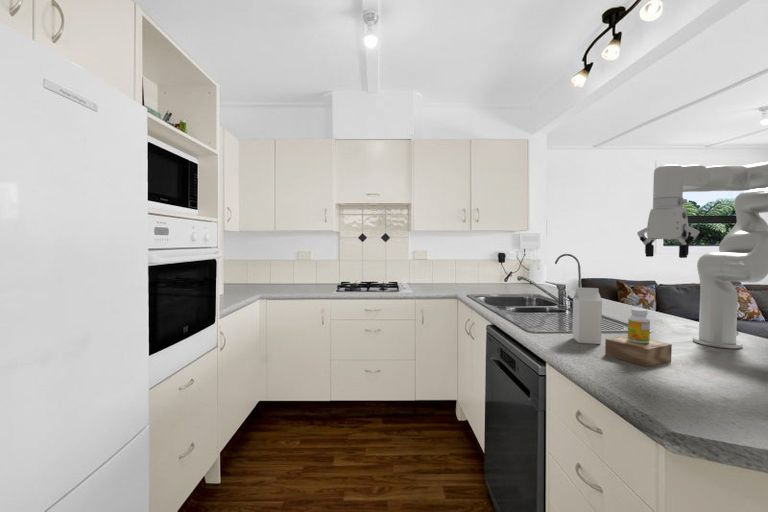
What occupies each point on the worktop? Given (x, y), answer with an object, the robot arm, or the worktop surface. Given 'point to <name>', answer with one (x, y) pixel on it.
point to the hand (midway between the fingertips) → (665, 257)
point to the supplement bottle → (638, 326)
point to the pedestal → (638, 351)
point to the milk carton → (587, 315)
